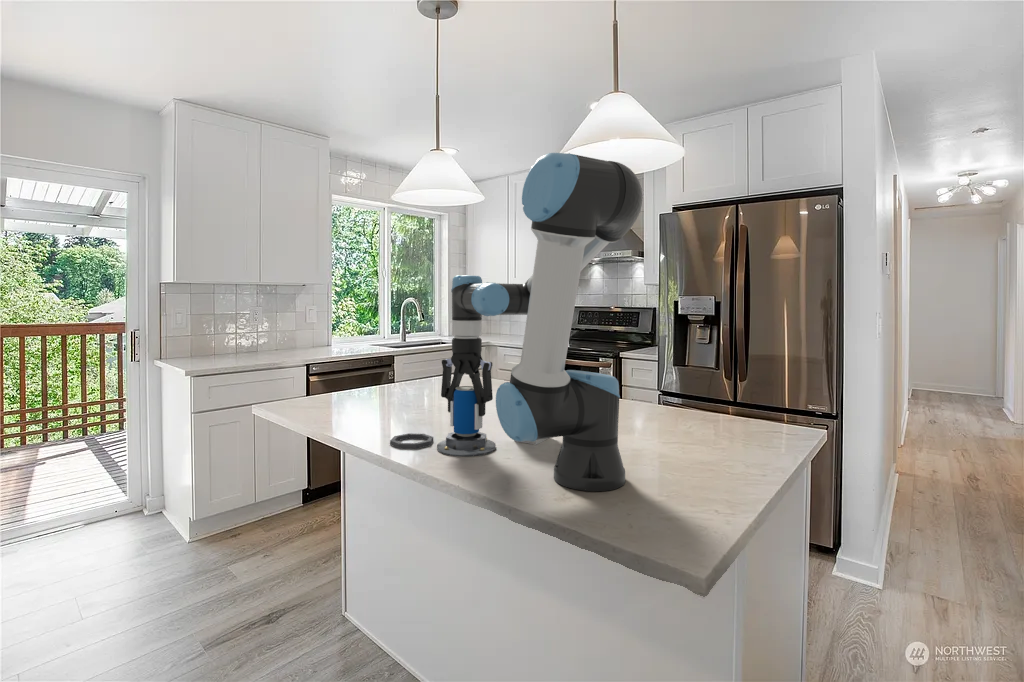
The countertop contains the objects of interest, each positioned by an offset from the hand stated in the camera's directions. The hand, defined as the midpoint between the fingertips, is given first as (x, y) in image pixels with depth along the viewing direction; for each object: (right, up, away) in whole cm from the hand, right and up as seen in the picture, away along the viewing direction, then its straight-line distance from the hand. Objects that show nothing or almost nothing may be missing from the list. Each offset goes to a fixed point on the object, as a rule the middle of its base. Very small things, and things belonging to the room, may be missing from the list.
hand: (466, 426), depth 137 cm
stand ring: (-15, -5, +4) cm, 16 cm away
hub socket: (0, -5, 0) cm, 6 cm away
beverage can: (0, -2, 0) cm, 2 cm away
